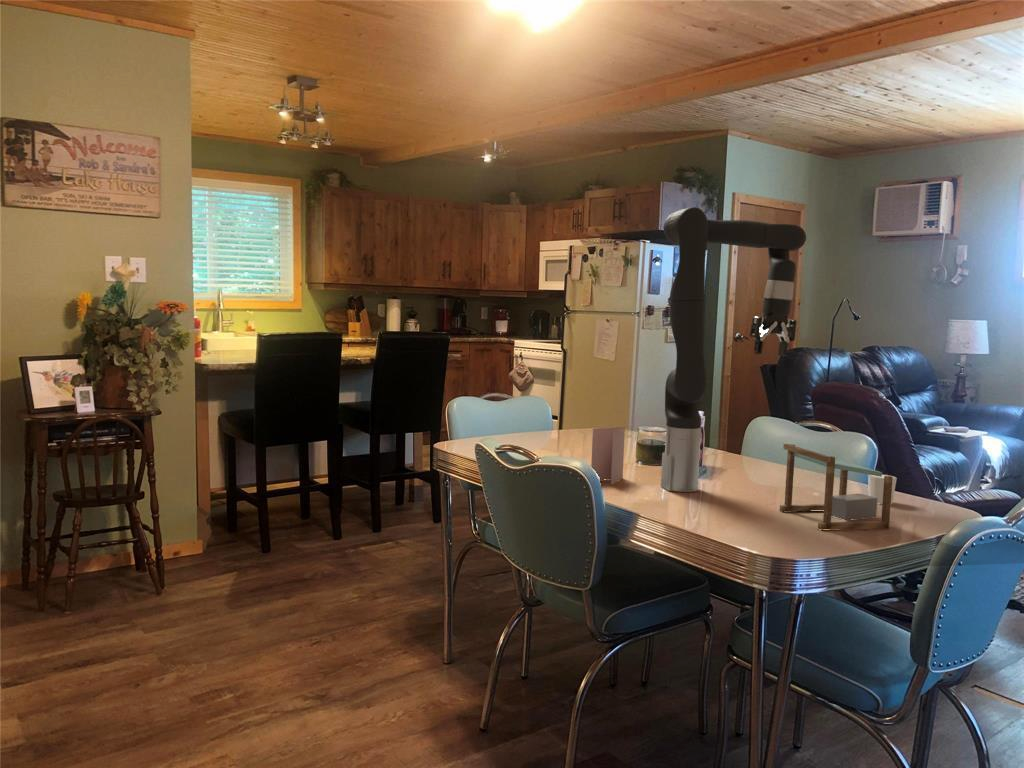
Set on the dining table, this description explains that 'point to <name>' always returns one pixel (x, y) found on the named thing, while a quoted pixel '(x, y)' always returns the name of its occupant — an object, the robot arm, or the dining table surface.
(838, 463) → the trapdoor
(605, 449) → the greeting card
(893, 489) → the white cup
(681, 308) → the robot arm
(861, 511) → the granite block
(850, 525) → the frame
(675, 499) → the dining table surface
